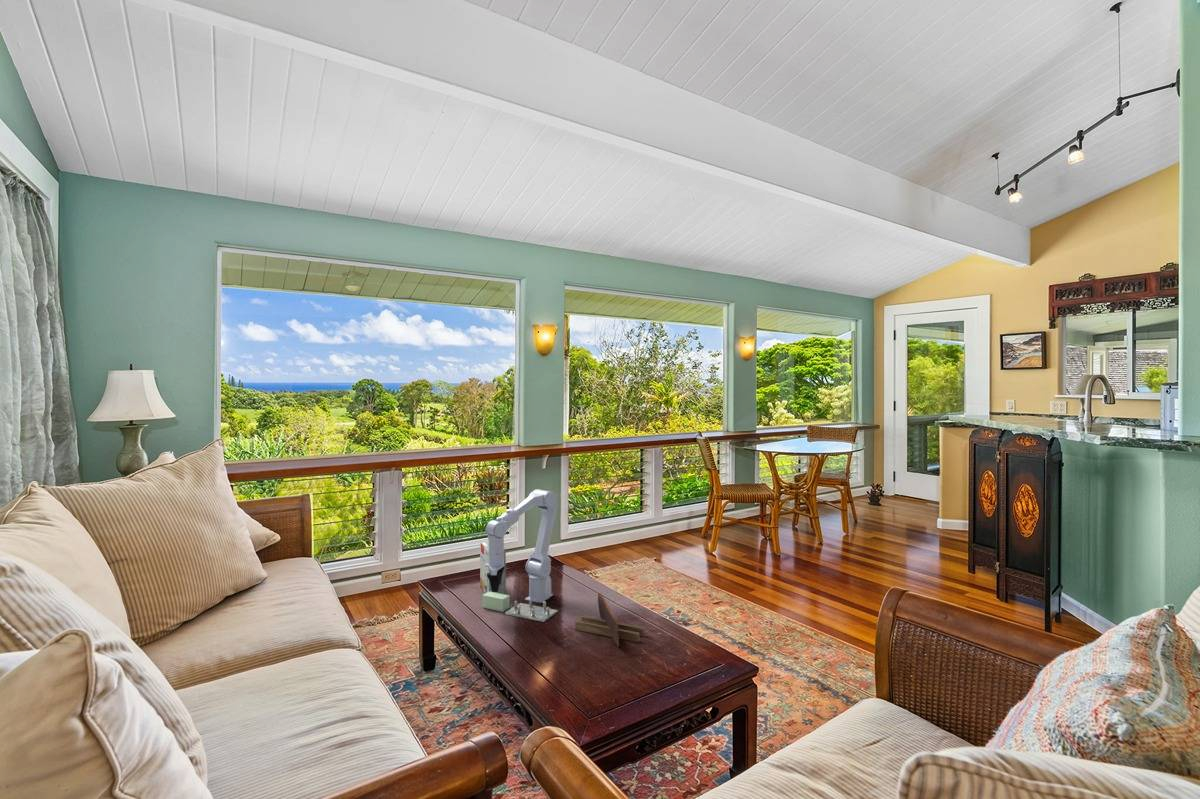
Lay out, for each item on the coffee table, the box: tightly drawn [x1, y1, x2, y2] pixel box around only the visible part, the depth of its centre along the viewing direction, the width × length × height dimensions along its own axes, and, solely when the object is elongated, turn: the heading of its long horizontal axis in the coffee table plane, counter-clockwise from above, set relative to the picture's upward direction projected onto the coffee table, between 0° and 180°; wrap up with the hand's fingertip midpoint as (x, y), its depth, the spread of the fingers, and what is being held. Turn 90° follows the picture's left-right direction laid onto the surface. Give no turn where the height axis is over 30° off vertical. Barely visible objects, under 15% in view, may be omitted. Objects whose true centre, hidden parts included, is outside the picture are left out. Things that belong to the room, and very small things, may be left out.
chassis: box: [505, 599, 559, 623], centre depth 209 cm, size 17×10×4 cm, turn 64°
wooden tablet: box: [597, 592, 620, 647], centre depth 192 cm, size 26×2×10 cm, turn 14°
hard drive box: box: [479, 540, 507, 595], centre depth 233 cm, size 16×8×20 cm, turn 25°
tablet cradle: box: [574, 615, 645, 643], centre depth 192 cm, size 6×24×3 cm, turn 64°
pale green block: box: [481, 592, 511, 612], centre depth 215 cm, size 10×4×5 cm, turn 63°
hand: (496, 588), depth 209 cm, fingers open, 7 cm apart
